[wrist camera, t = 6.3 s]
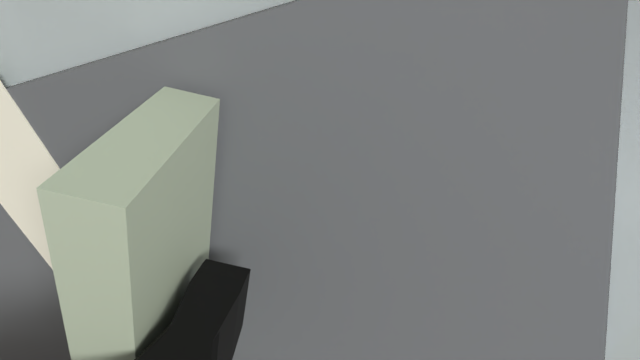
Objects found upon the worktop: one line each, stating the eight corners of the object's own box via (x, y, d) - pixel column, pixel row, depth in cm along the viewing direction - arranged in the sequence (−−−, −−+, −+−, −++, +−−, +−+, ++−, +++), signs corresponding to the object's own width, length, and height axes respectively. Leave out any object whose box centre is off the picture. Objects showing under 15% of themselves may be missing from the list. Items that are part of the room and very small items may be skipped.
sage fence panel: (220, 98, 9) (125, 208, 6) (199, 390, 15) (147, 529, 11) (164, 86, 9) (35, 187, 6) (165, 382, 15) (103, 519, 11)
